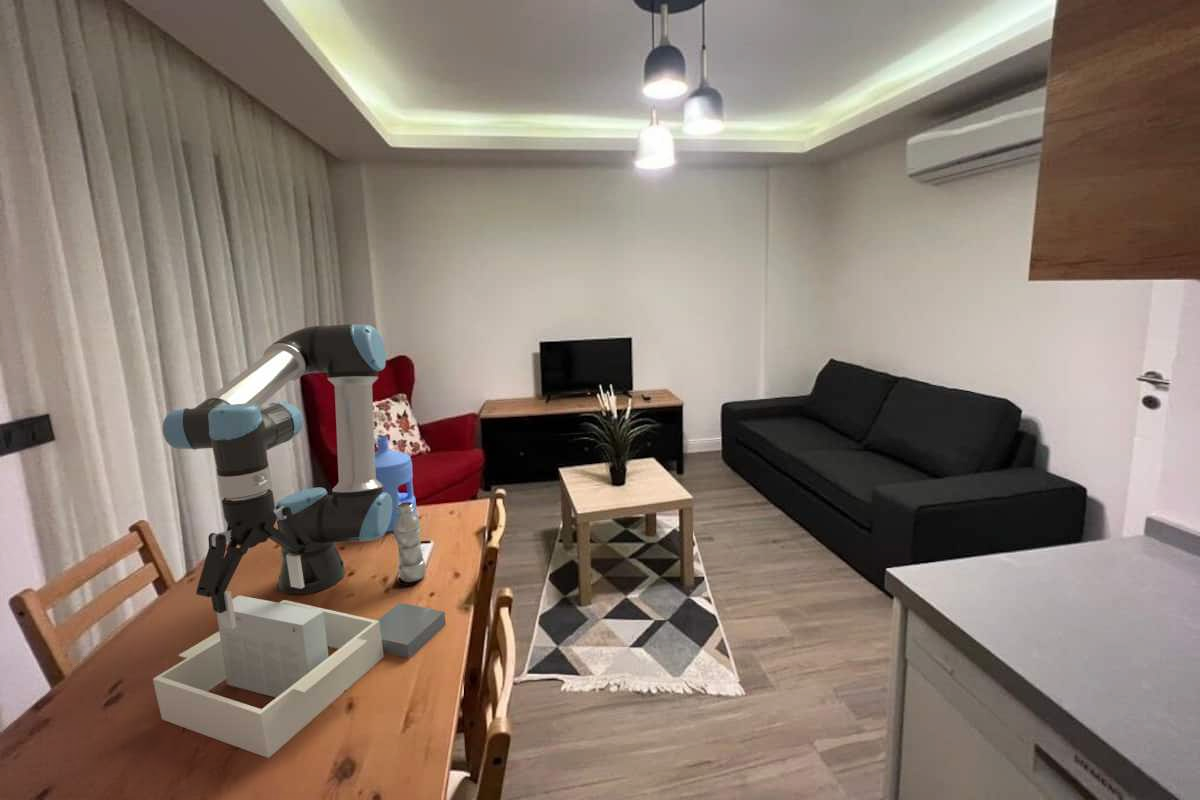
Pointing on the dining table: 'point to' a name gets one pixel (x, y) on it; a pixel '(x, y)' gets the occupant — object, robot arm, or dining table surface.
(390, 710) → the dining table surface
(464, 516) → the dining table surface
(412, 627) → the plate
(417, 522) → the plastic bottle
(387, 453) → the water jug
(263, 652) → the skincare box
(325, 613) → the tray
